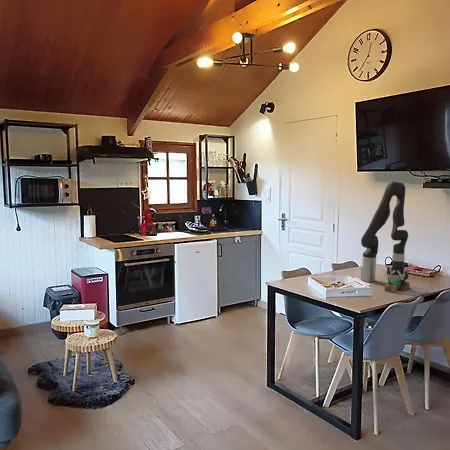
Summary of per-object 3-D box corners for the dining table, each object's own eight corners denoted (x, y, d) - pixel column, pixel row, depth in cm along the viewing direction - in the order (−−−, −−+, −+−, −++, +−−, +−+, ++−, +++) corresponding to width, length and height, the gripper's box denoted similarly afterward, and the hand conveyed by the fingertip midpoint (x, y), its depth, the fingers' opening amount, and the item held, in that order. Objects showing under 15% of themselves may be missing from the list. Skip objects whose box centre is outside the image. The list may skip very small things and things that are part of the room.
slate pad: (401, 293, 292) (401, 292, 292) (412, 289, 303) (412, 288, 303) (417, 296, 285) (417, 295, 285) (428, 292, 296) (428, 291, 296)
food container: (392, 291, 298) (392, 276, 297) (386, 288, 304) (387, 274, 303) (408, 289, 302) (408, 275, 301) (402, 287, 308) (402, 273, 306)
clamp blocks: (384, 290, 298) (384, 284, 298) (399, 285, 313) (399, 280, 312) (394, 293, 293) (394, 286, 293) (409, 287, 308) (409, 281, 307)
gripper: (385, 259, 304) (384, 283, 306) (406, 262, 293) (404, 287, 295) (390, 257, 309) (389, 281, 311) (411, 260, 298) (410, 285, 300)
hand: (397, 284), depth 303 cm, fingers closed on food container, 7 cm apart
